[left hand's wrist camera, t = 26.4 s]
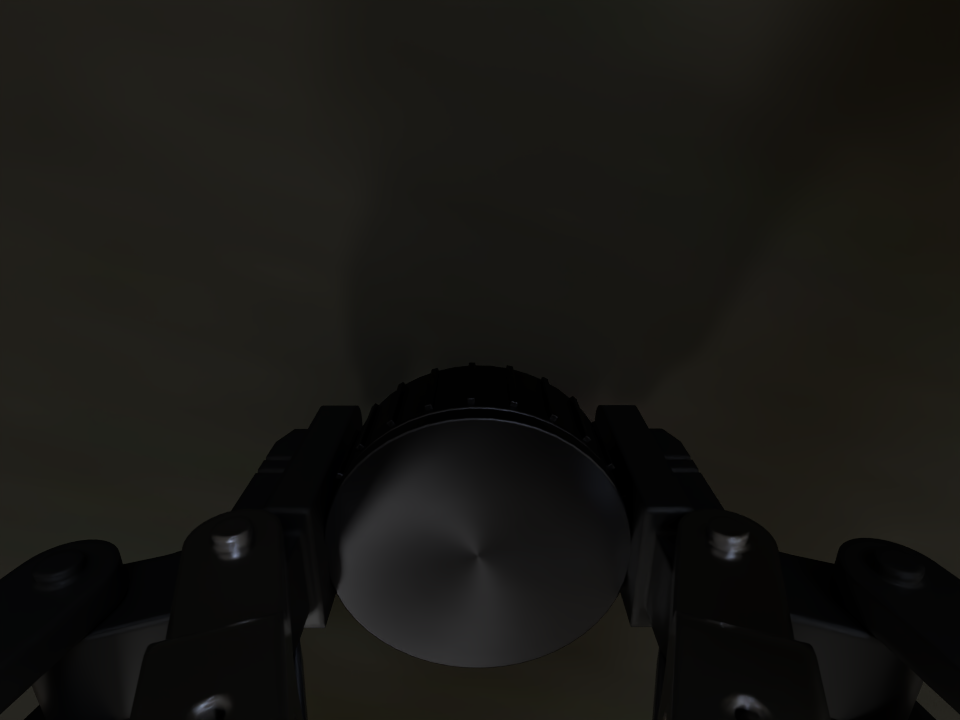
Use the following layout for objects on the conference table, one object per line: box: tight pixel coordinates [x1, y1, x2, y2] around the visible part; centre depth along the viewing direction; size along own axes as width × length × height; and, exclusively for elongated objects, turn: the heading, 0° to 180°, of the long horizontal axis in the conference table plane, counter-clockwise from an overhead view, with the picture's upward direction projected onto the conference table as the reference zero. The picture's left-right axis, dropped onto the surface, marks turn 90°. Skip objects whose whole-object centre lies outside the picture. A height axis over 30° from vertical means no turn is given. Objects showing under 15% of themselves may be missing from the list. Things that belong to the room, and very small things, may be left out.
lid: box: [324, 363, 632, 668], centre depth 10 cm, size 5×5×2 cm
